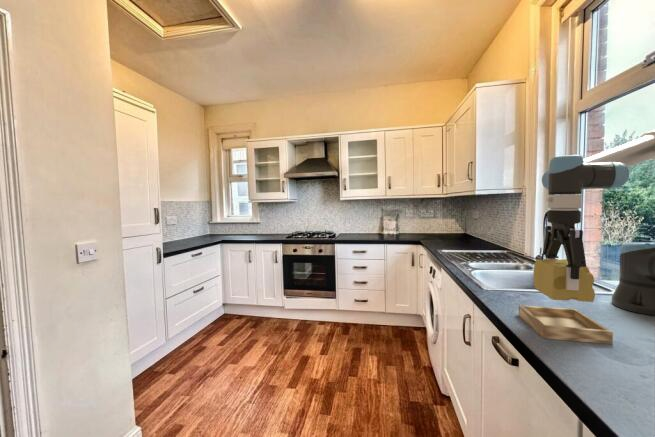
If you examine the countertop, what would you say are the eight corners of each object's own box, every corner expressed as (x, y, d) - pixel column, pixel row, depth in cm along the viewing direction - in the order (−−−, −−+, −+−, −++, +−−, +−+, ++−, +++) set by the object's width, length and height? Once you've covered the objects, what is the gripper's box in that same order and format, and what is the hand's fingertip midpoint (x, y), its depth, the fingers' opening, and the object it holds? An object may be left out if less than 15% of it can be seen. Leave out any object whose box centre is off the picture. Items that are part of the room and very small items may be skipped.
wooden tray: (575, 318, 89) (575, 308, 89) (612, 344, 74) (612, 332, 74) (518, 314, 93) (518, 305, 93) (542, 338, 78) (542, 326, 78)
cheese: (595, 302, 77) (596, 267, 76) (550, 300, 79) (551, 266, 78) (570, 290, 87) (572, 258, 86) (531, 288, 89) (532, 258, 88)
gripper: (531, 208, 93) (529, 273, 94) (571, 211, 71) (568, 296, 73) (557, 208, 91) (555, 274, 93) (607, 211, 69) (603, 298, 71)
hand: (561, 284), depth 83 cm, fingers closed on cheese, 10 cm apart
